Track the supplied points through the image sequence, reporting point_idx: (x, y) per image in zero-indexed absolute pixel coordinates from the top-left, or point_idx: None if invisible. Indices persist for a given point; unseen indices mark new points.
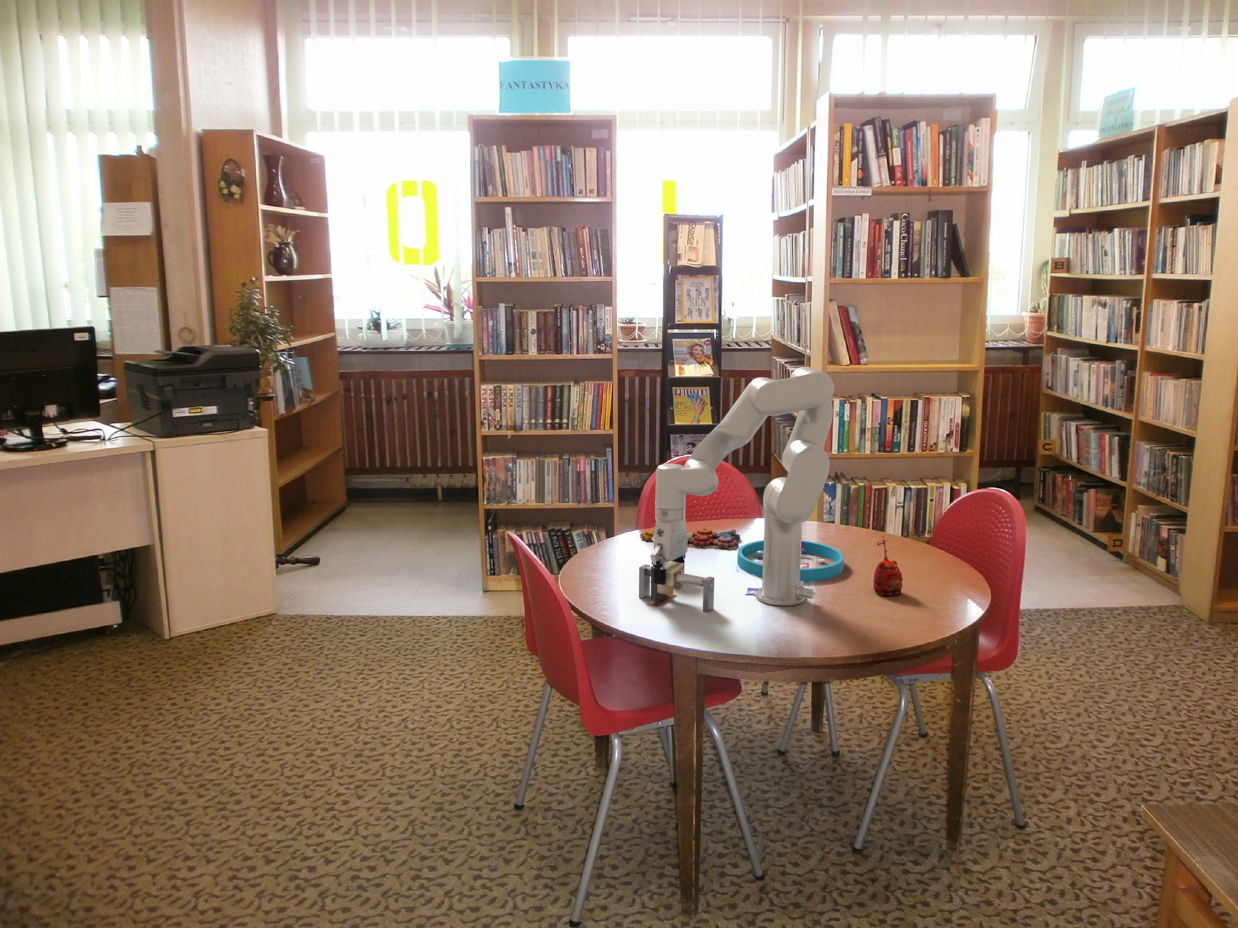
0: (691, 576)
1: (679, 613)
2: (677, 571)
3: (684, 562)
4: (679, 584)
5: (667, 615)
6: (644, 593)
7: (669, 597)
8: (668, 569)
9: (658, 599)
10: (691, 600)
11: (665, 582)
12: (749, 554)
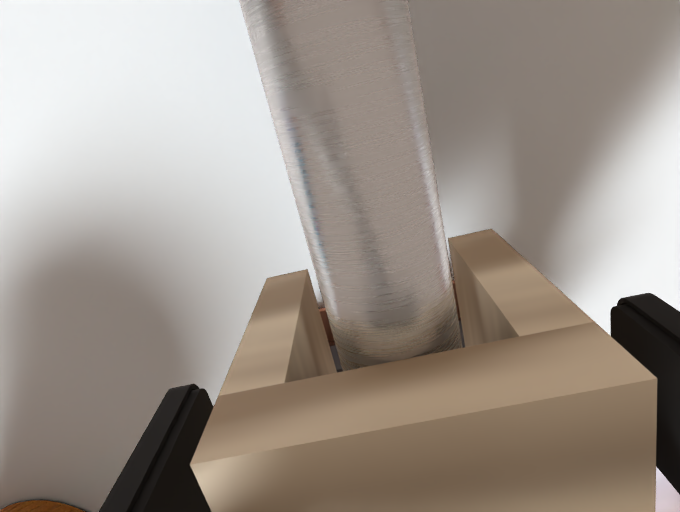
0: (380, 88)
1: (541, 50)
2: (406, 369)
3: (103, 504)
4: (308, 303)
5: (637, 89)
6: None
7: (327, 324)
8: (656, 431)
9: (460, 323)
10: (241, 189)
11: (641, 302)
12: None
